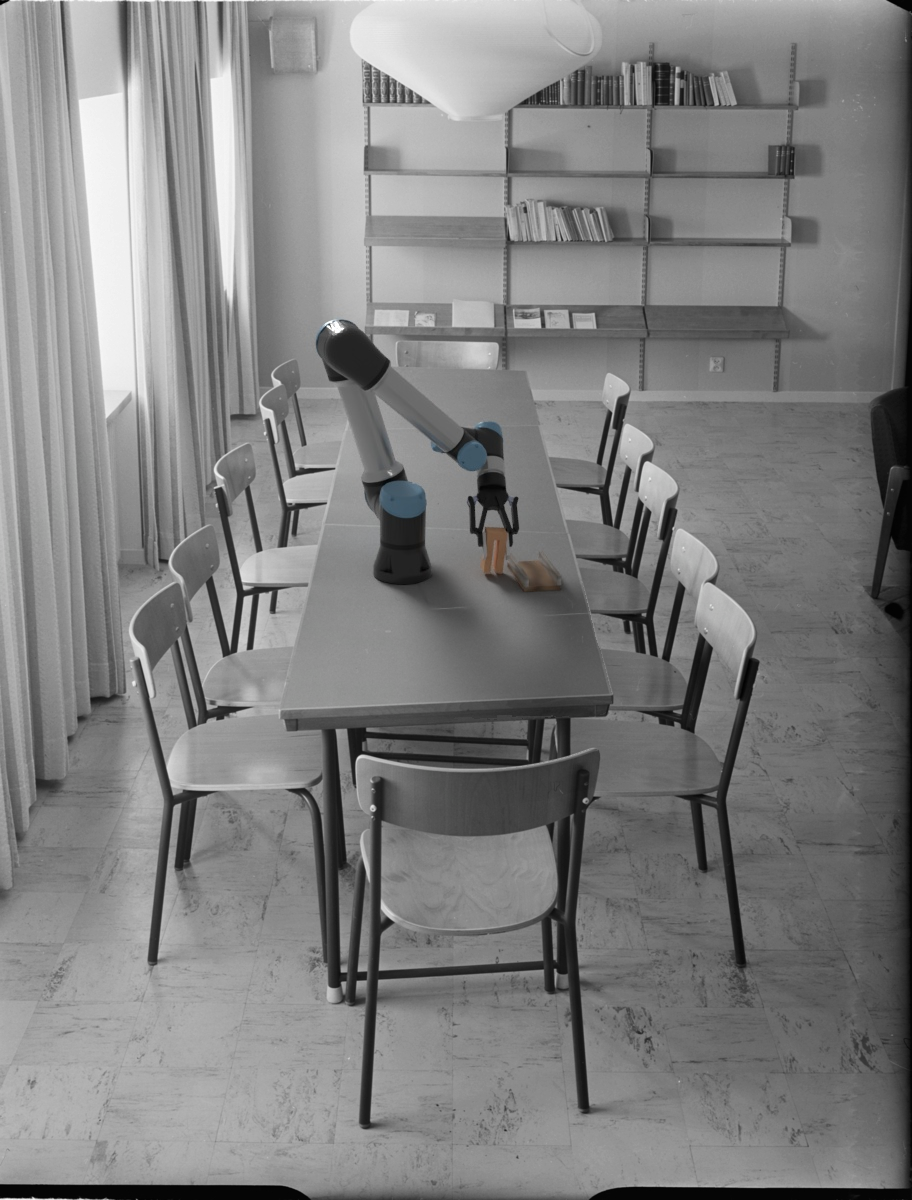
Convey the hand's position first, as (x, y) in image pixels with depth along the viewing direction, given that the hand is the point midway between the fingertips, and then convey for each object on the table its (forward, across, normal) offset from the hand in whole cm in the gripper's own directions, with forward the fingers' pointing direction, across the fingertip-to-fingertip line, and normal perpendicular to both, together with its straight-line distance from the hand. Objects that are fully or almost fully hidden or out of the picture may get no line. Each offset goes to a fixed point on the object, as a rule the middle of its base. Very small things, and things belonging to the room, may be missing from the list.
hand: (496, 557), depth 305 cm
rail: (+4, -10, -4) cm, 12 cm away
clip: (+1, 0, -6) cm, 6 cm away
